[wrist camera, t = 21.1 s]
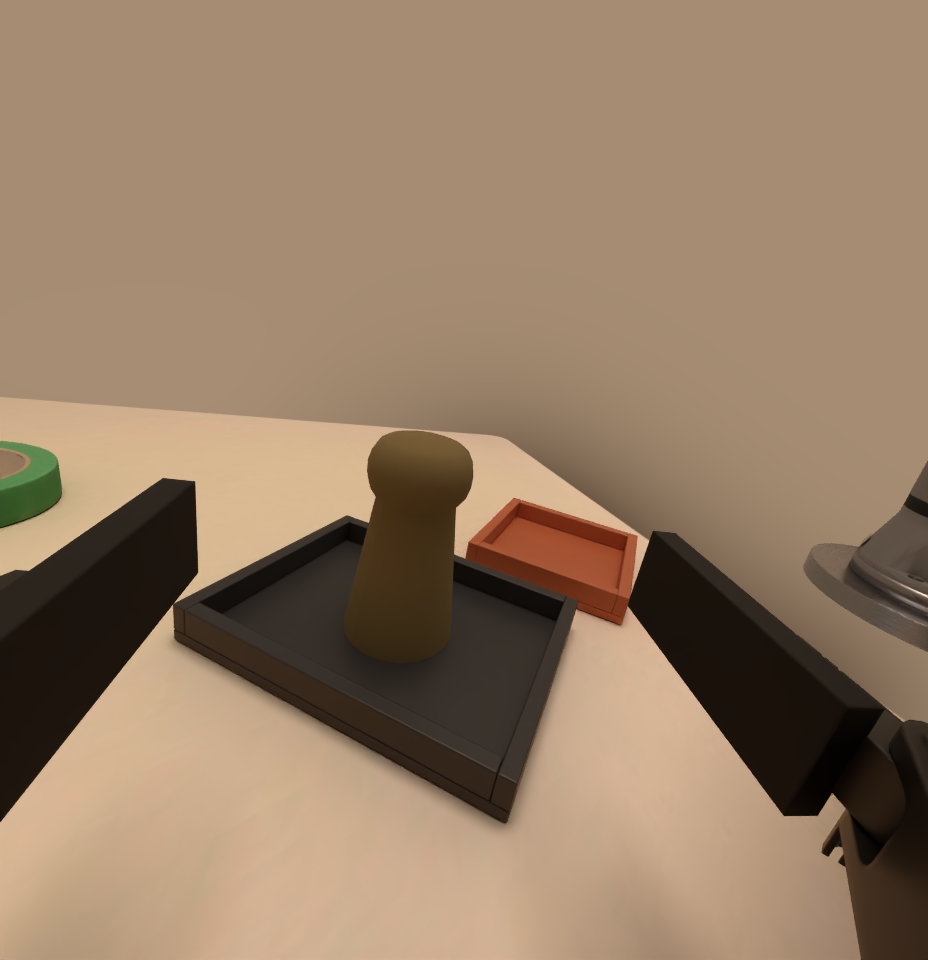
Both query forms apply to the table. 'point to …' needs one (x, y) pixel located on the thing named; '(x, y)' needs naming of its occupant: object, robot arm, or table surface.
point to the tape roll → (26, 481)
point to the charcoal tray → (393, 686)
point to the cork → (408, 547)
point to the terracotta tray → (560, 556)
